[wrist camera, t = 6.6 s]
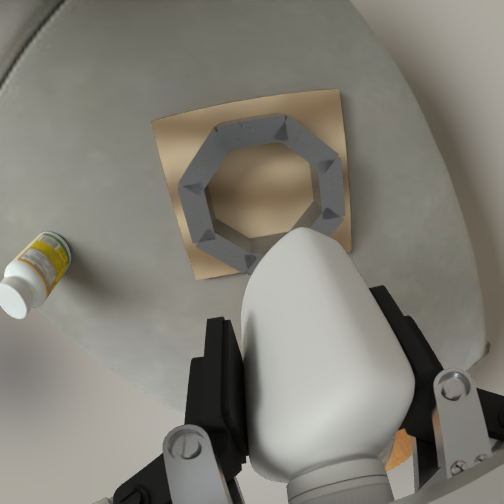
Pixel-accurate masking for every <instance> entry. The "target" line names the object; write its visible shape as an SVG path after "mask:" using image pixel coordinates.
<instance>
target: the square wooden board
mask: <svg viewBox="0 0 504 504" xmlns="http://www.w3.org/2000/svg"><path fill="white" fill-rule="evenodd" d="M278 112H279V113H281V114H285V115H288V116H290V117H291V118H293V119H294V120H295V121H297V122H298V123H299V124H301V125H302V126H303V127H305V128H306V129H307V130H309V131H310V132H311V133H313V134H314V135H315V136H317V137H318V138H319V139H320V140H322V141H323V142H324V143H325V144H327V145H328V146H329V147H330V148H332V149H333V150H334V151H335V152H337V153H338V154H339V156H338V157H340V158H341V161H342V173H343V186H344V201H345V216H343V217H342V218H343V219H344V220H343V222H342V223H341V224H340V225H339V226H338V228H337V229H336V230H335V231H334V232H333V234H332V235H331V236H330V238H332V239H334V240H336V241H337V242H338V243H340V244H341V246H342V247H343V248H344V250H345V251H346V253H348V252H352V249H351V215H350V194H349V179H348V165H347V153H346V143H345V133H344V124H343V115H342V107H341V100H340V92H339V89H327V90H315V91H305V92H296V93H288V94H280V95H273V96H266V97H259V98H253V99H247V100H241V101H236V102H231V103H225V104H220V105H216V106H211V107H206V108H202V109H197V110H193V111H189V112H185V113H181V114H177V115H173V116H169V117H165V118H162V119H158V120H155V121H152V126H153V131H154V135H155V139H156V143H157V147H158V151H159V155H160V158H161V162H162V166H163V170H164V174H165V177H166V181H167V185H168V188H169V192H170V196H171V199H172V203H173V206H174V210H175V213H176V217H177V220H178V223H179V227H180V230H181V234H182V237H183V240H184V243H185V247H186V250H187V253H188V256H189V260H190V263H191V266H192V269H193V272H194V275H195V278H196V280H200V279H206V278H212V277H218V276H223V275H229V274H235V273H240V272H239V271H238V270H236V269H234V268H232V267H230V266H229V265H227V264H225V263H223V262H222V261H220V260H218V259H216V258H214V257H213V256H211V255H209V254H207V253H205V252H204V251H202V250H200V249H198V248H197V247H195V246H196V243H192V239H191V236H190V232H189V229H188V225H187V222H186V218H185V215H184V211H183V208H182V204H181V200H180V197H179V193H178V189H177V187H178V185H179V184H178V182H179V180H180V179H181V177H182V175H183V173H184V172H185V170H186V169H187V167H188V166H189V164H190V162H191V161H192V159H193V158H194V156H195V155H196V153H197V152H198V150H199V148H200V147H201V145H202V144H203V142H204V141H205V139H206V138H207V136H208V135H209V133H210V132H211V130H212V129H213V128H214V126H217V125H218V123H221V122H226V121H231V120H236V119H241V118H247V117H253V116H259V115H265V114H271V113H278ZM208 187H209V191H210V196H211V200H212V204H213V208H214V212H215V216H216V219H218V220H220V221H221V222H223V223H225V224H226V225H228V226H230V227H231V228H233V229H235V230H236V231H238V232H240V233H241V234H243V235H245V236H246V237H248V238H255V237H261V236H266V235H272V234H277V233H283V232H289V231H290V230H291V228H292V227H293V226H294V225H295V223H296V222H297V221H298V220H299V218H300V217H301V216H302V215H303V213H304V212H305V211H306V210H307V208H308V207H309V206H310V205H311V203H312V202H313V201H314V199H313V189H312V180H311V172H310V164H309V162H307V161H306V160H305V159H303V158H302V157H301V156H299V155H298V154H297V153H295V152H294V151H292V150H291V149H290V148H288V147H287V146H286V145H284V144H283V143H281V142H274V143H268V144H262V145H256V146H250V147H245V148H240V149H234V150H230V152H229V153H228V155H227V156H226V157H225V159H224V160H223V162H222V163H221V165H220V166H219V168H218V169H217V171H216V172H215V174H214V175H213V177H212V178H211V180H210V181H209V183H208Z"/></svg>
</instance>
